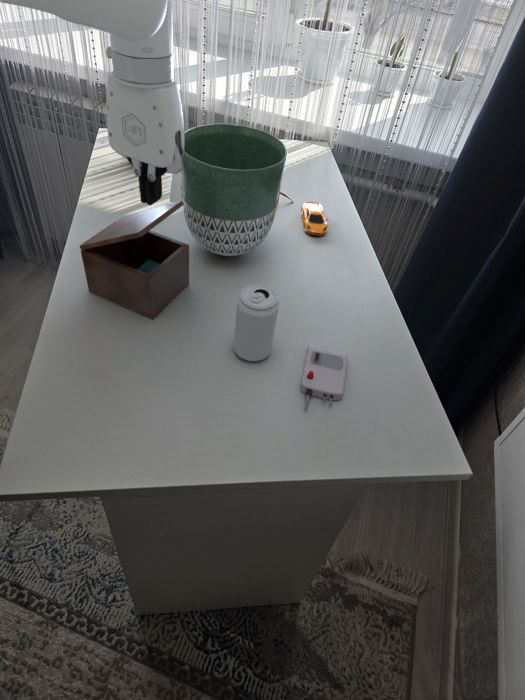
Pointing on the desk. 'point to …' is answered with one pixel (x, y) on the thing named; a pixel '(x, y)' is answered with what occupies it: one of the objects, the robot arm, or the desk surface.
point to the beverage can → (255, 322)
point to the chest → (138, 272)
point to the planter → (231, 185)
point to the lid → (132, 225)
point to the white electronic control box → (324, 374)
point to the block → (148, 267)
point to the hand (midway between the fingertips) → (151, 200)
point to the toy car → (314, 219)
